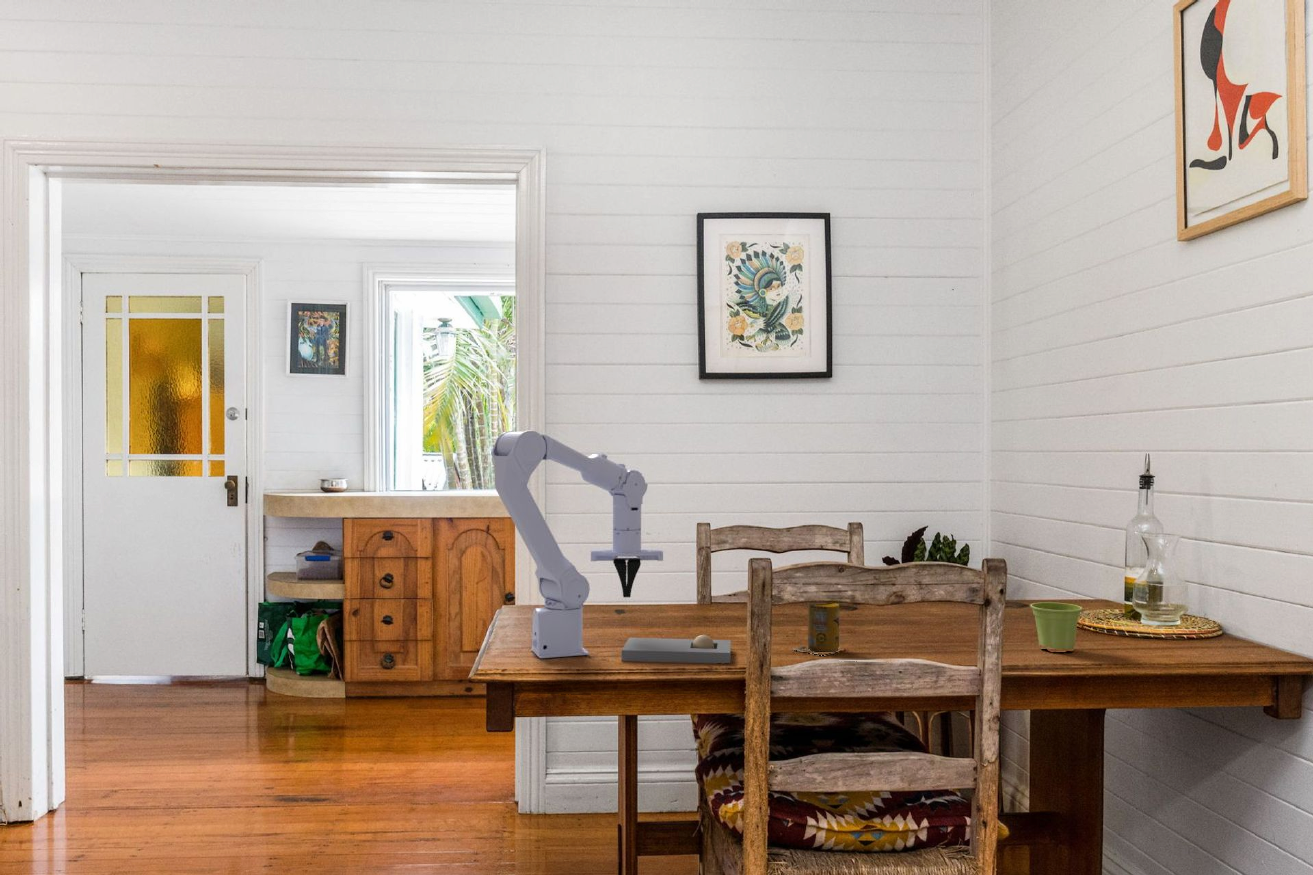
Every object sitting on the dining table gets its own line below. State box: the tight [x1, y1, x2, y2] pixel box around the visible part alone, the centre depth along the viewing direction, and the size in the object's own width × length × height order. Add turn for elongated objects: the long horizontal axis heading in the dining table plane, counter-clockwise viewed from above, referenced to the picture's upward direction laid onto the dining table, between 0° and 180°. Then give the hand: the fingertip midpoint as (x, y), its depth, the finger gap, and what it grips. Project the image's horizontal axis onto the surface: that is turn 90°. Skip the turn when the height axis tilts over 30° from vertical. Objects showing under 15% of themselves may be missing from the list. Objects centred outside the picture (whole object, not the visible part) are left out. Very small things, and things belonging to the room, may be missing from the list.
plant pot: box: [1029, 601, 1083, 649], centre depth 177 cm, size 9×9×9 cm
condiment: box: [792, 603, 840, 657], centre depth 176 cm, size 7×8×12 cm
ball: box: [693, 634, 714, 649], centre depth 170 cm, size 4×4×4 cm
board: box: [621, 637, 732, 665], centre depth 171 cm, size 20×11×2 cm, turn 85°
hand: (626, 596), depth 181 cm, fingers closed
